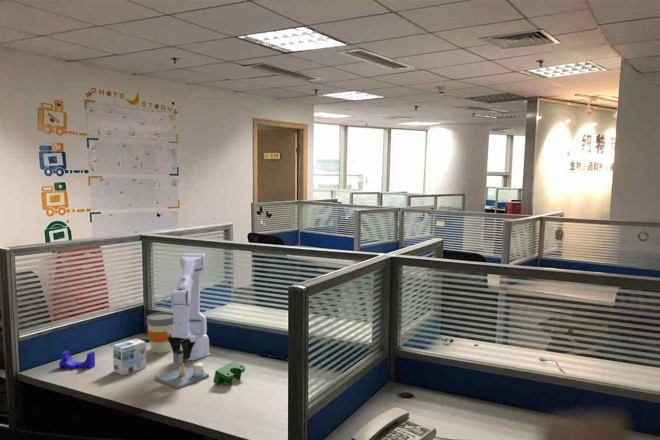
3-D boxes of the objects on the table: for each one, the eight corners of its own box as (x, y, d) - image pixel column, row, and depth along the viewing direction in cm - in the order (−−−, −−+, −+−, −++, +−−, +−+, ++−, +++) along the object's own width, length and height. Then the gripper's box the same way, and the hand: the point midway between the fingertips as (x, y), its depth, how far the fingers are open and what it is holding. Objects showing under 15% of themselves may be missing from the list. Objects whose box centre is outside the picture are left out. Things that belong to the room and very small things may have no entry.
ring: (182, 357, 199) (182, 348, 199) (192, 360, 196) (192, 351, 196) (170, 361, 195) (170, 352, 195) (179, 365, 192) (179, 355, 191)
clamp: (227, 397, 190) (225, 380, 185) (214, 390, 193) (212, 373, 188) (247, 375, 199) (246, 358, 194) (235, 369, 202) (233, 352, 197)
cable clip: (59, 369, 204) (59, 354, 203) (66, 365, 208) (65, 350, 208) (89, 370, 203) (88, 355, 203) (95, 366, 208) (94, 351, 207)
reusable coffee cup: (170, 342, 237) (169, 310, 235) (181, 350, 227) (181, 316, 226) (142, 348, 229) (142, 315, 227) (153, 356, 219) (152, 321, 218)
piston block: (185, 368, 206) (185, 356, 206) (208, 376, 198) (208, 364, 197) (154, 379, 195) (154, 366, 194) (178, 388, 186) (178, 375, 186)
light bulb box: (122, 375, 198) (121, 348, 197) (112, 371, 202) (112, 344, 201) (147, 367, 206) (146, 341, 205) (137, 363, 210) (136, 337, 210)
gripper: (160, 320, 195) (160, 355, 197) (184, 327, 187) (185, 364, 188) (175, 316, 201) (176, 350, 202) (200, 323, 192) (200, 358, 194)
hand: (181, 356), depth 195 cm, fingers closed on ring, 6 cm apart
